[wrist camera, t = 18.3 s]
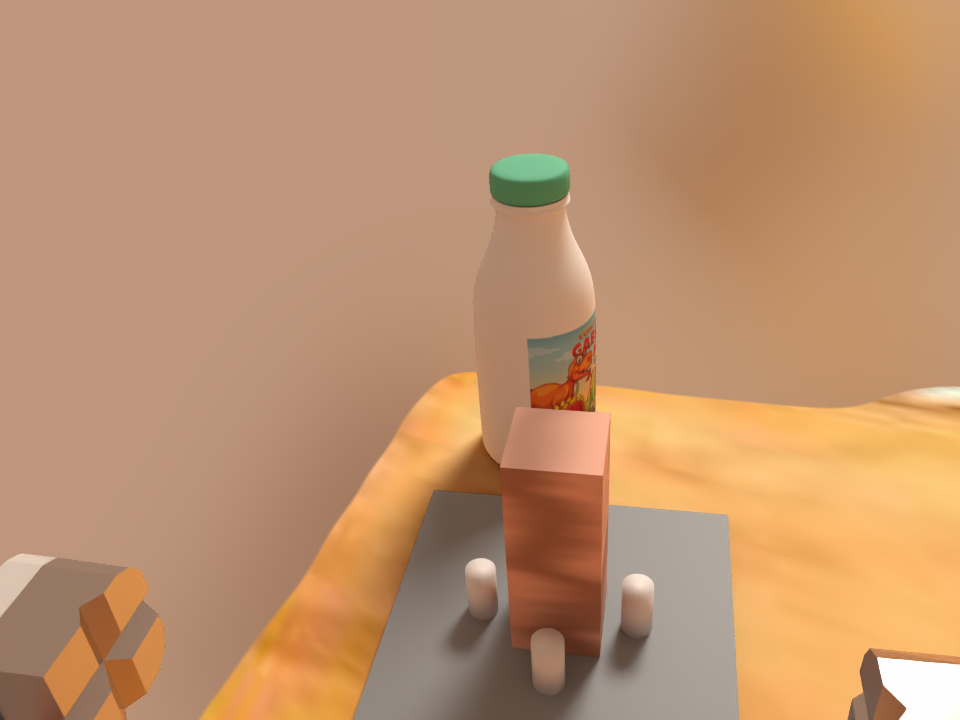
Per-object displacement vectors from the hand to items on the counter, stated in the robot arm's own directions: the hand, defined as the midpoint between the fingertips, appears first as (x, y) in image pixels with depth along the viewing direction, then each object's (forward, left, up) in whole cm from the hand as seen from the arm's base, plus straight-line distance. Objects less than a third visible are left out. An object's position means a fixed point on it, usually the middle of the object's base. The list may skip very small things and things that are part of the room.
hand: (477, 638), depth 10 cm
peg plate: (+7, -24, -30) cm, 39 cm away
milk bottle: (+13, -39, -30) cm, 51 cm away
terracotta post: (+7, -24, -29) cm, 38 cm away
